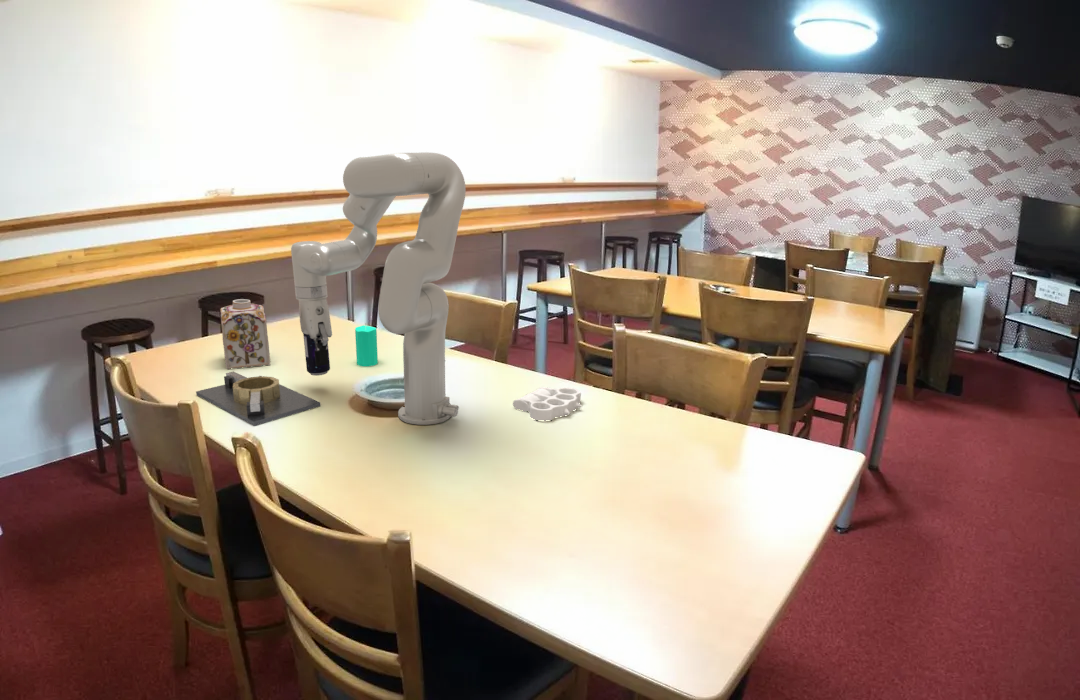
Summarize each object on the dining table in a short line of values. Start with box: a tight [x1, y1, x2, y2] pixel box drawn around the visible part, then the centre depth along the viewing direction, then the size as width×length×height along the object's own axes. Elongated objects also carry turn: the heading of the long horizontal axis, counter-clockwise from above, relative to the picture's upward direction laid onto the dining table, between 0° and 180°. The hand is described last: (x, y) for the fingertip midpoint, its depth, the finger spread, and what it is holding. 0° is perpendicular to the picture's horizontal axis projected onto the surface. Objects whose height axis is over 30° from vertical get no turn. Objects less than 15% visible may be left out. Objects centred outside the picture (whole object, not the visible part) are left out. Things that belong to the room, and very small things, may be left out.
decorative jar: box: [219, 298, 271, 370], centre depth 198 cm, size 12×12×18 cm
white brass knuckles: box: [512, 386, 583, 421], centre depth 172 cm, size 3×18×15 cm
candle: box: [354, 322, 379, 367], centre depth 201 cm, size 6×6×12 cm
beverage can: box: [302, 328, 331, 377], centre depth 177 cm, size 6×6×12 cm
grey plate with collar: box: [195, 370, 322, 427], centre depth 171 cm, size 28×17×4 cm, turn 50°
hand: (317, 361), depth 178 cm, fingers closed on beverage can, 5 cm apart
